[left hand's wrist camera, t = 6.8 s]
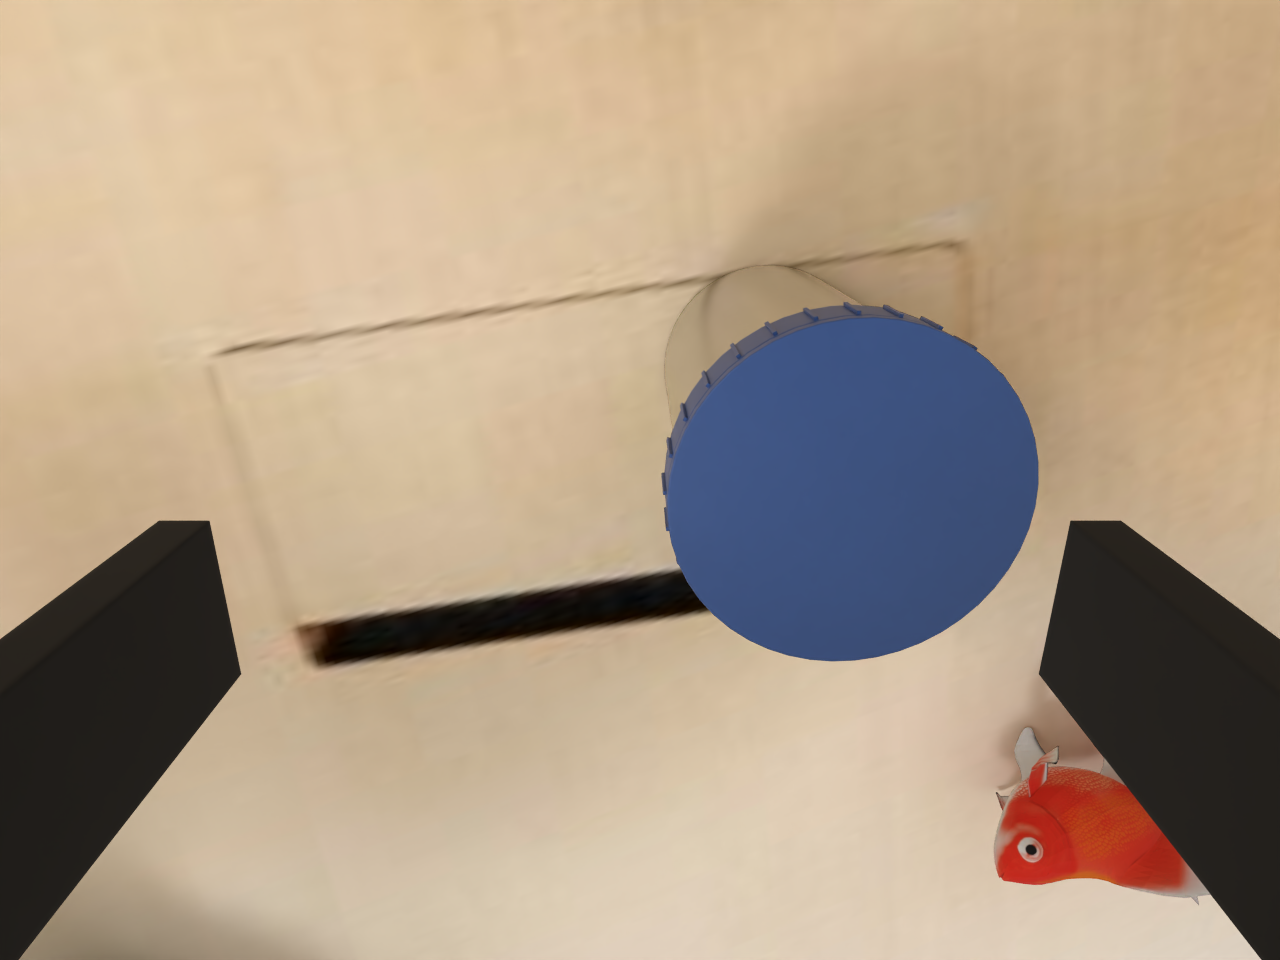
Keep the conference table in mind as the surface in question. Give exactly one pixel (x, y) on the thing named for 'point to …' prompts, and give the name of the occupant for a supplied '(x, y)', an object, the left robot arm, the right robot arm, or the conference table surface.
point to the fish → (1083, 830)
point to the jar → (735, 319)
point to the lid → (848, 482)
